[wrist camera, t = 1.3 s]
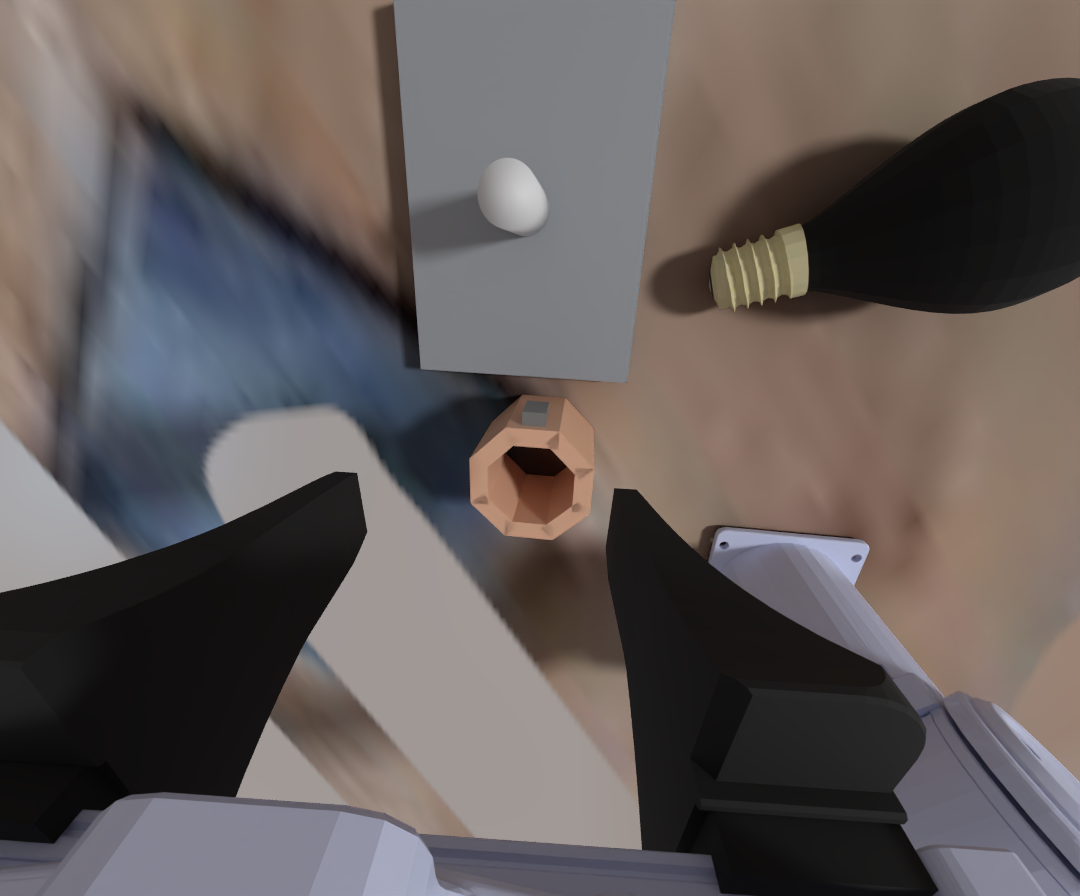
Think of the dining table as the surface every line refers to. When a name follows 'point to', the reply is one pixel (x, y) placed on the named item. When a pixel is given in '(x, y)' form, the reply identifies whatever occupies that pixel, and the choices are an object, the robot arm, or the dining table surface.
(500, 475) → the collar
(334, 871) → the robot arm
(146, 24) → the dining table surface
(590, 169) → the duct plate
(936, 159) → the light bulb
